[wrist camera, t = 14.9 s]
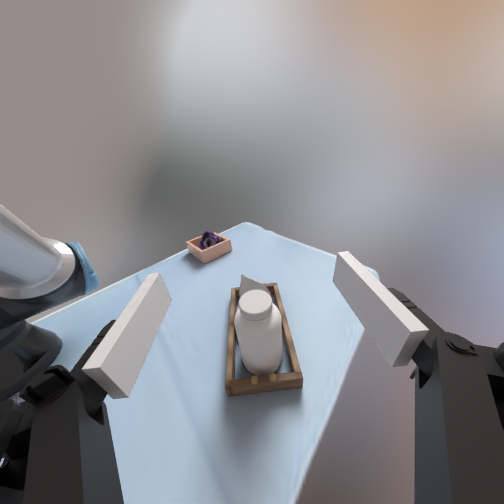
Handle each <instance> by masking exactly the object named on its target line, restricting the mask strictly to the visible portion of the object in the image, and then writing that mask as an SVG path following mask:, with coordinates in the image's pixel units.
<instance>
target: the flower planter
mask: <svg viewBox="0 0 504 504" xmlns="http://www.w3.org/2000/svg"><path fill="white" fill-rule="evenodd" d="M214 234H215V236H218V237H220V238H221V242H220V243H218V244H216V245H214V246H211V247H209V248H207V249H204V250H201V249H200V248H199V243H200V241H201V239H202V236H200V237H197V238H195V239H192V240H189V241H187V242H186V244H187V247H188V250H189V253H191V254H192V255H193V256H195V257H196V258H198V259H199V260H200V261H202V262H203V263H204V264H205V263H207V262H209V261H211V260H213V259H215V258H217V257H219V256H221V255H223V254H226V253H228V252H230V251H232V246H231V241H230V239H228V238H226V237H224V236H222V235H219V234H217V233H215V232H214Z"/></svg>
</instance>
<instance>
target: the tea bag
mask: <svg viewBox="0 0 504 504" xmlns="http://www.w3.org/2000/svg"><path fill="white" fill-rule="evenodd" d="M251 290H262V291H265V292H267V293H268V294H269V295H270V296H271V293H270V292H269V290H268V289H267V286H266V284H265V283H262V282H260V281H257V280H255V279H252V278H250V277H247V276H245V275H243V276H242V275H241V284H240V290H239V295H240V298H241V296H242V295H243V294H244V293H246V292H248V291H251Z"/></svg>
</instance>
